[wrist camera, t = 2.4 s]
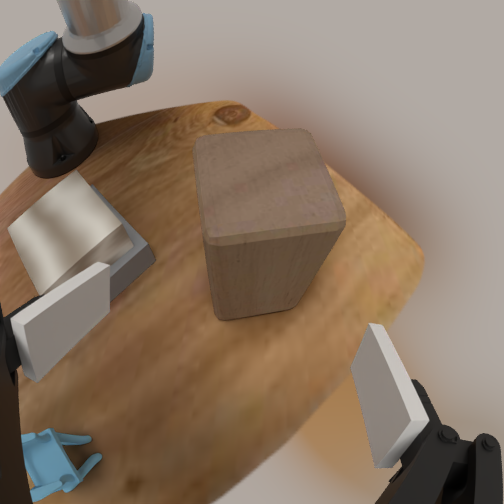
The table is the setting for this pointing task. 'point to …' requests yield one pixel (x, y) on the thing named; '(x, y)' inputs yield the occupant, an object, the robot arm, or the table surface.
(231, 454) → the table surface
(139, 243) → the tower base
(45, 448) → the chair
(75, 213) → the tower top
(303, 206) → the block
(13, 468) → the robot arm
